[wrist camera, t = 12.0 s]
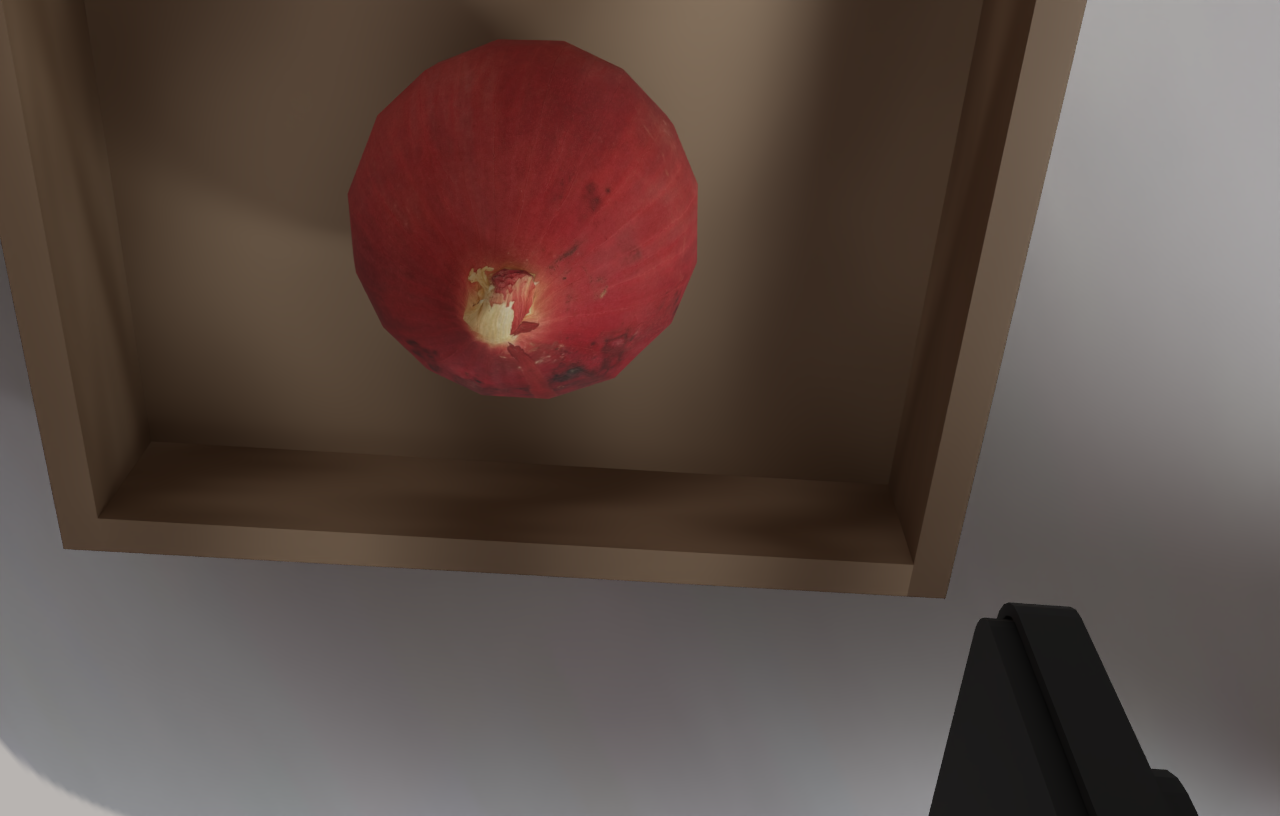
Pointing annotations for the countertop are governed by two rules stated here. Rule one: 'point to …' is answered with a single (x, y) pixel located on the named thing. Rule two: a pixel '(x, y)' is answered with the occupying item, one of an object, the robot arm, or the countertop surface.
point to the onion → (524, 219)
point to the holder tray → (516, 426)
